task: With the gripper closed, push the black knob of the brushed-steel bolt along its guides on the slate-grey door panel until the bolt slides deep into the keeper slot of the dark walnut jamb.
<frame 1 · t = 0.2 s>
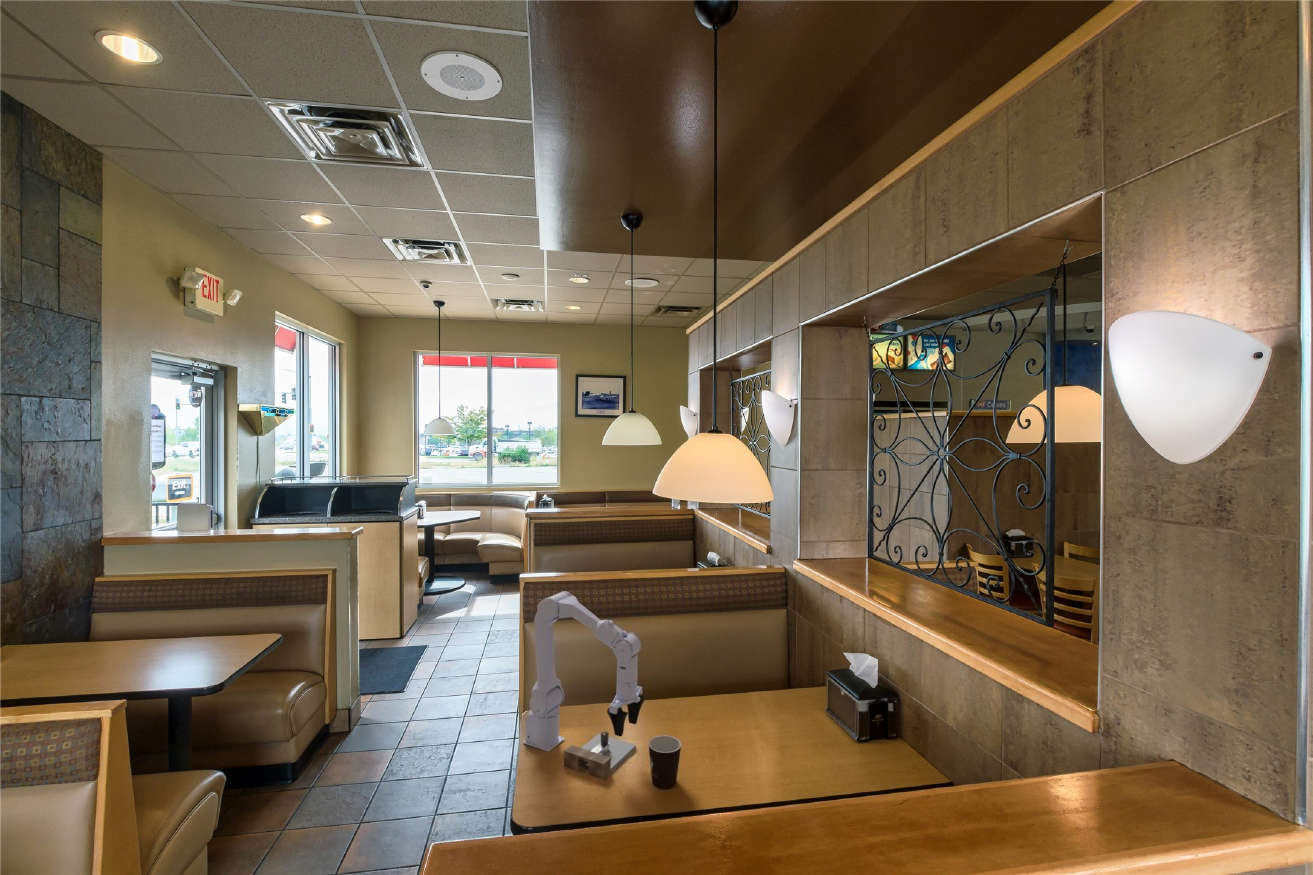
hand: (625, 728, 155), 10 cm above the table, tool pointing down, fingers open, 7 cm apart
bolt: (599, 745, 157), point 4 cm above the table, slide at 0.0 cm
jamb: (586, 761, 152), on the table
coffee mug: (665, 779, 148), on the table
door panel: (594, 762, 155), on the table
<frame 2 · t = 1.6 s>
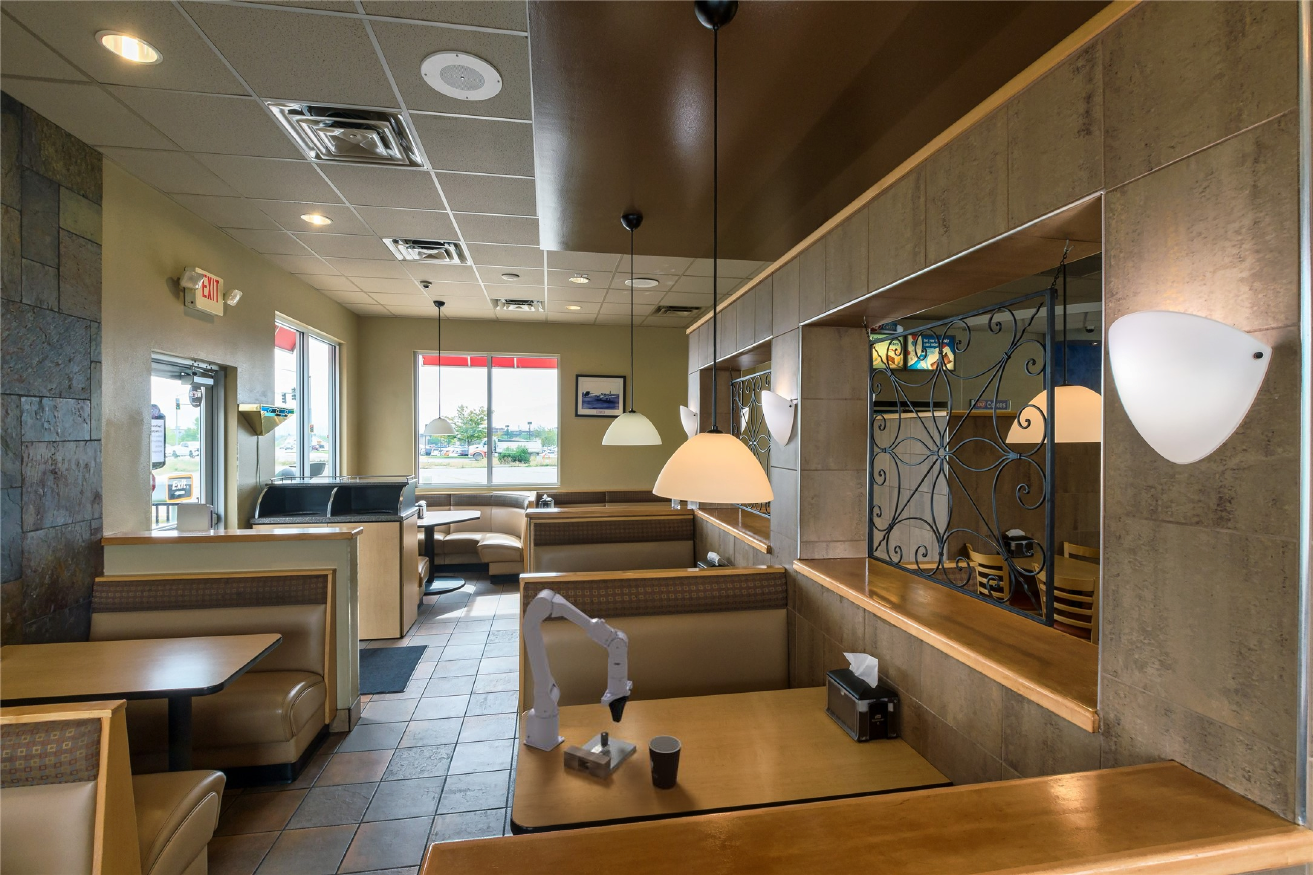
hand: (616, 720, 165), 7 cm above the table, tool pointing down, fingers closed
nothing on the table moved.
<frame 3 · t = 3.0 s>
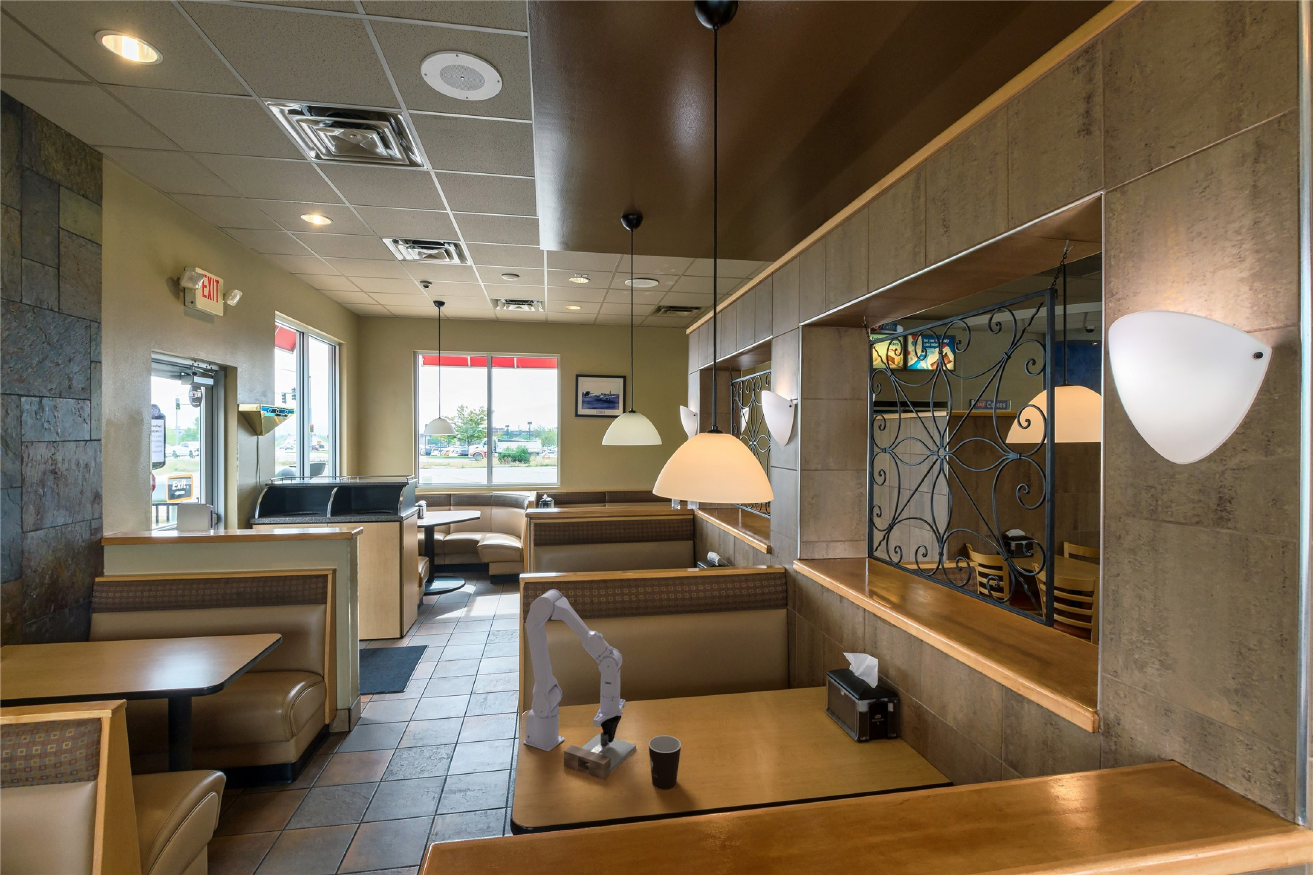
hand: (609, 741, 162), 3 cm above the table, tool pointing down, fingers closed
bolt: (599, 745, 157), point 4 cm above the table, slide at 0.1 cm, touching gripper
everything else where it was.
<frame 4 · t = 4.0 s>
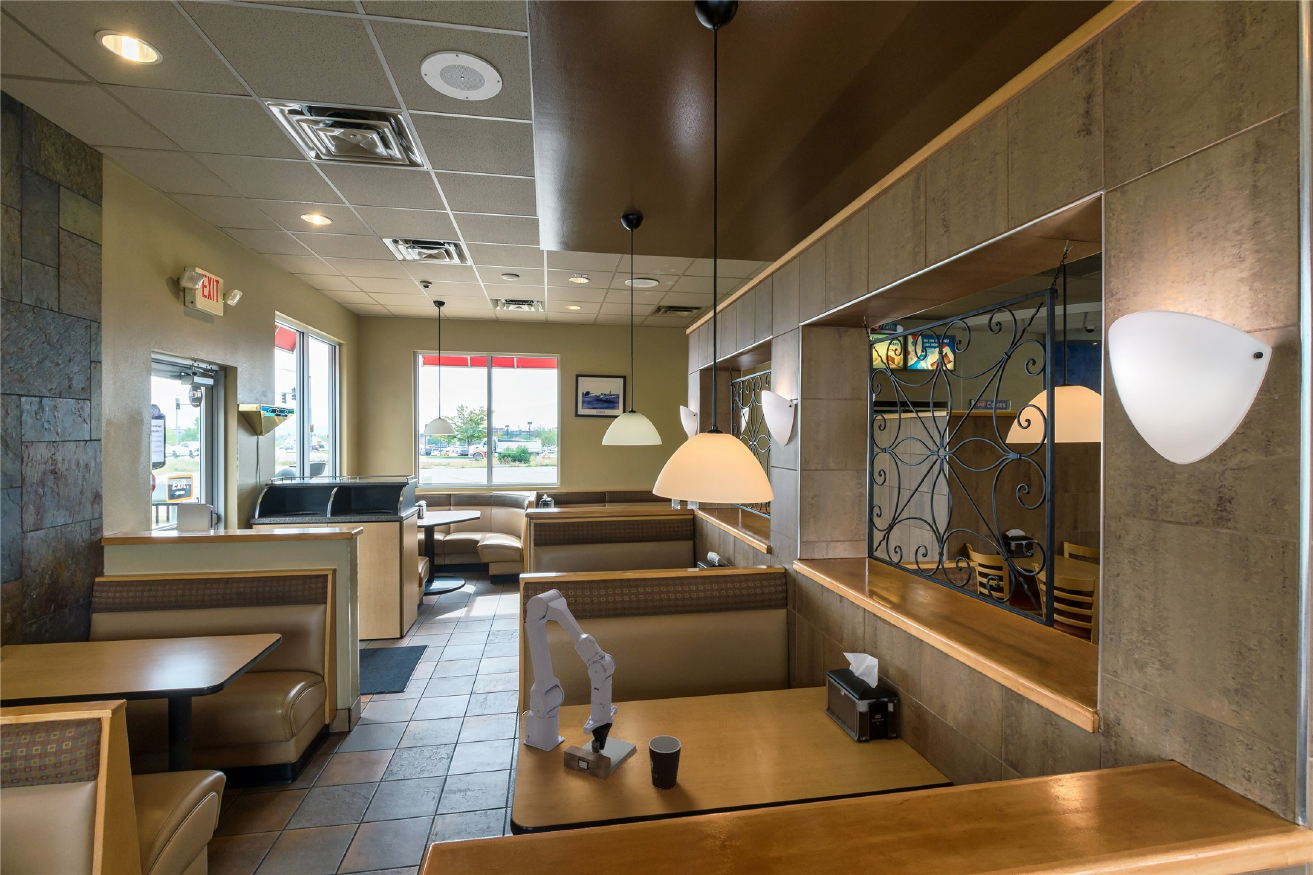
hand: (600, 748, 157), 3 cm above the table, tool pointing down, fingers closed
bolt: (590, 753, 153), point 4 cm above the table, slide at 4.6 cm, touching gripper
everything else where it was.
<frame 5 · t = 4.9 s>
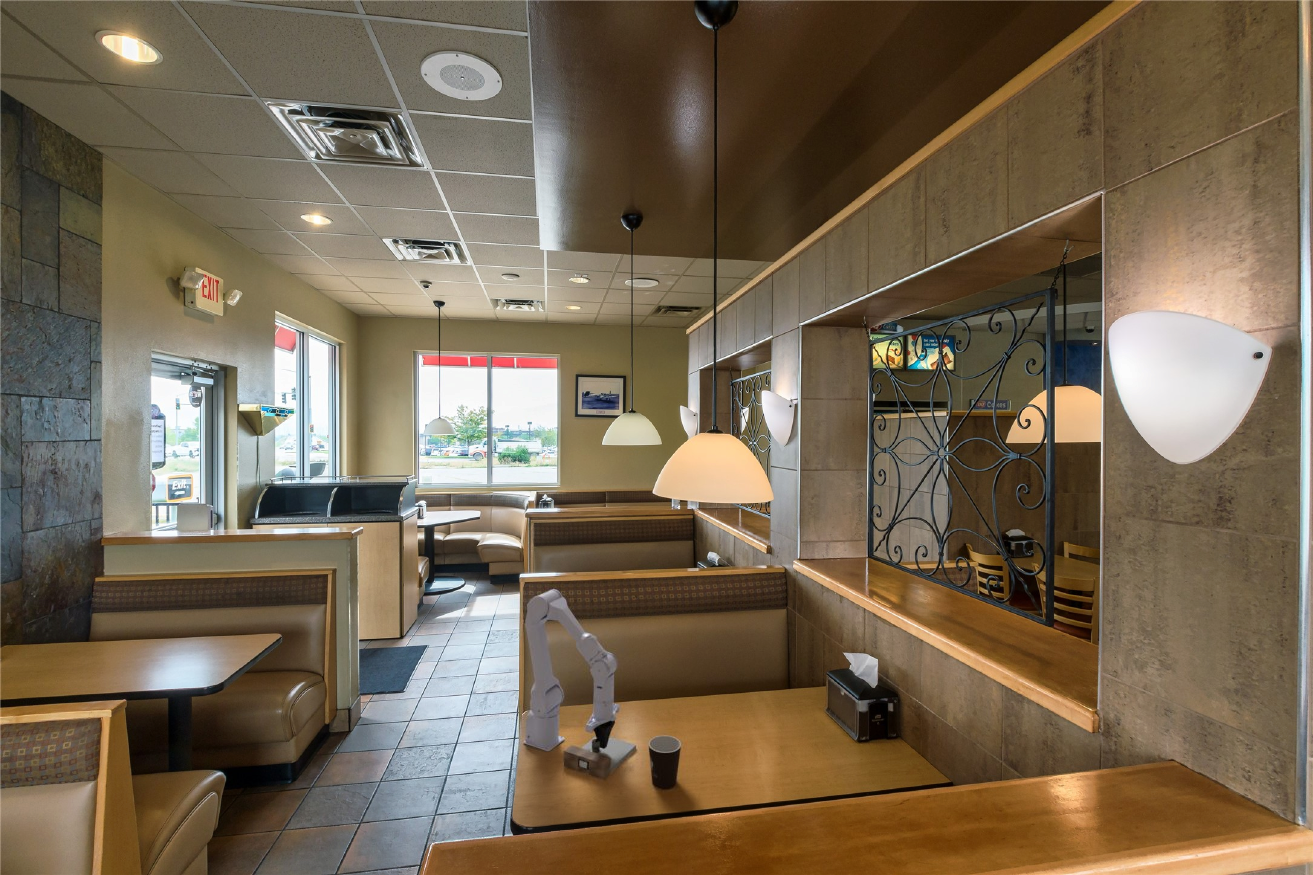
hand: (602, 746, 158), 3 cm above the table, tool pointing down, fingers closed
bolt: (590, 752, 153), point 4 cm above the table, slide at 4.5 cm
everything else where it was.
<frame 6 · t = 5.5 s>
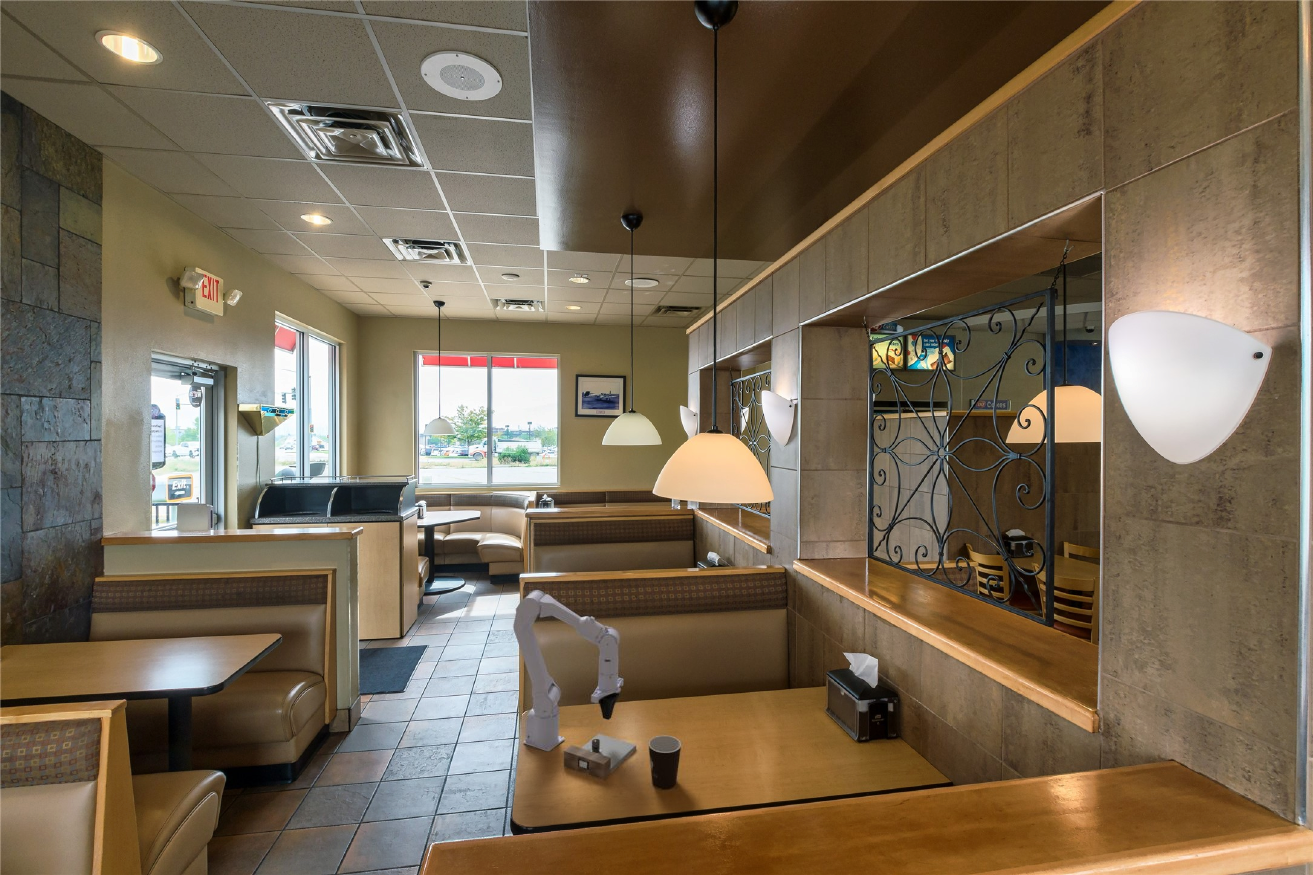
hand: (606, 717, 164), 8 cm above the table, tool pointing down, fingers closed
nothing on the table moved.
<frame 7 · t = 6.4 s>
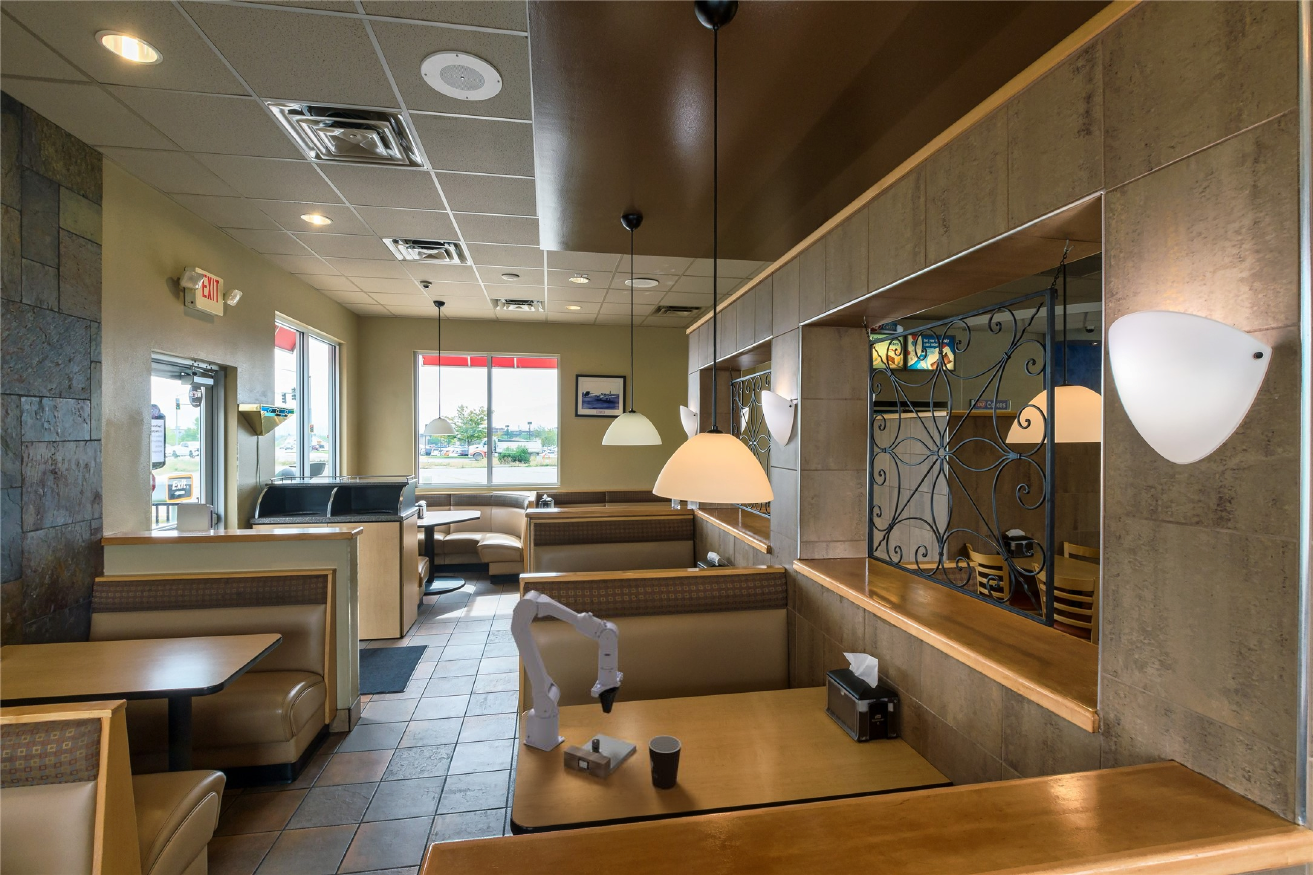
hand: (606, 712, 165), 9 cm above the table, tool pointing down, fingers closed
nothing on the table moved.
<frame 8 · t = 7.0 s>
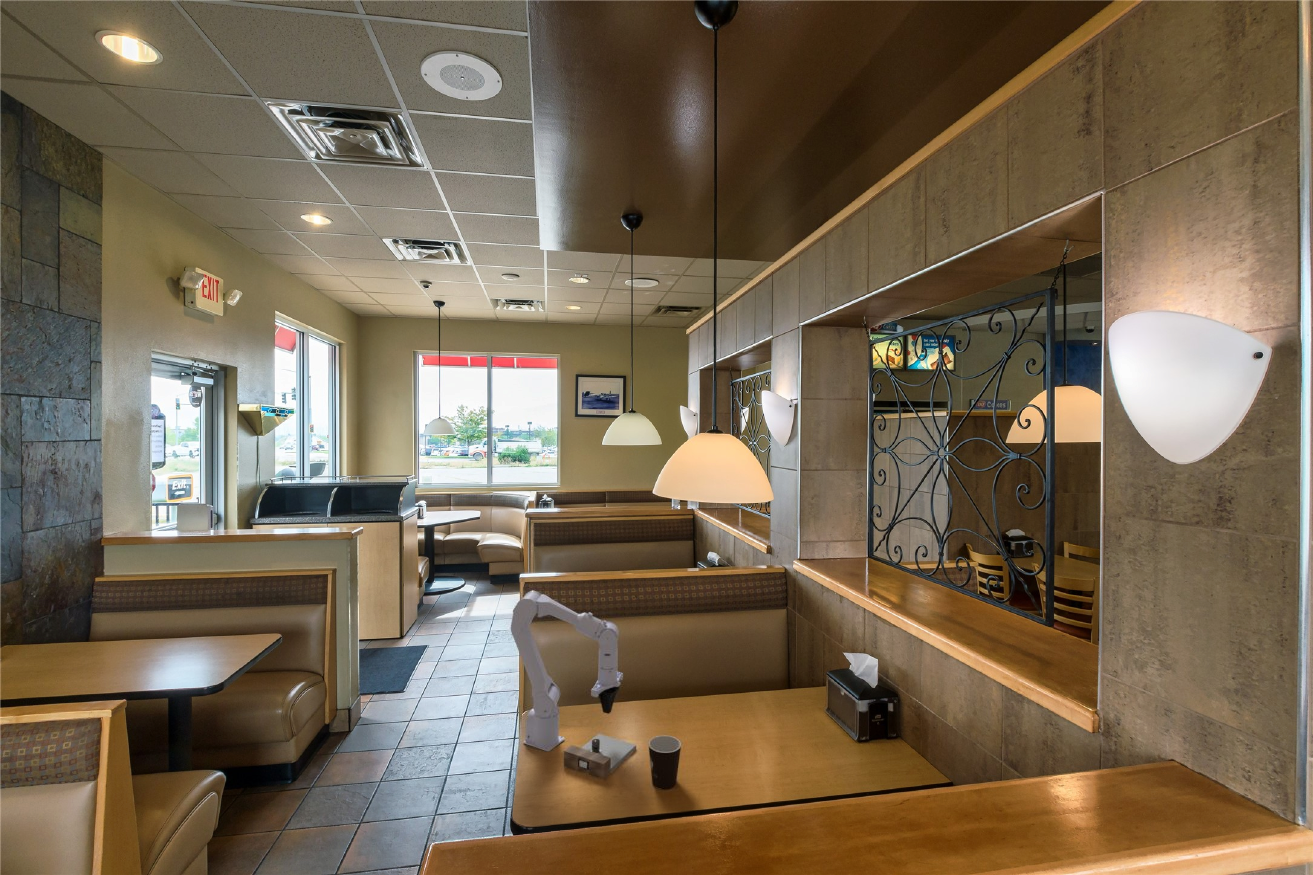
hand: (606, 712, 165), 9 cm above the table, tool pointing down, fingers closed
nothing on the table moved.
at the end: bolt slide at 4.5 cm; coffee mug moved 0.2 cm from its start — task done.
